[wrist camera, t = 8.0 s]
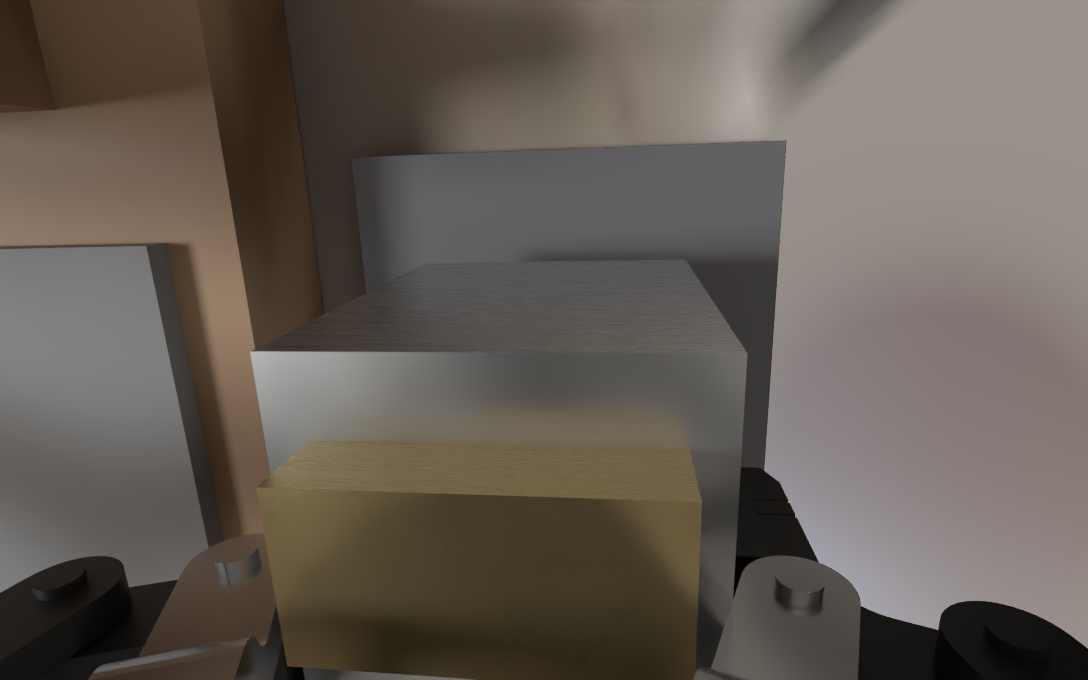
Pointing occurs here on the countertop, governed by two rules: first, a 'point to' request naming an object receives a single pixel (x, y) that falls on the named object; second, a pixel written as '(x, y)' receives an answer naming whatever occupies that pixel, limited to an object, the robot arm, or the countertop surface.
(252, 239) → the plane body
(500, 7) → the countertop surface
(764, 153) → the rubber mat
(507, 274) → the grey labelled box
